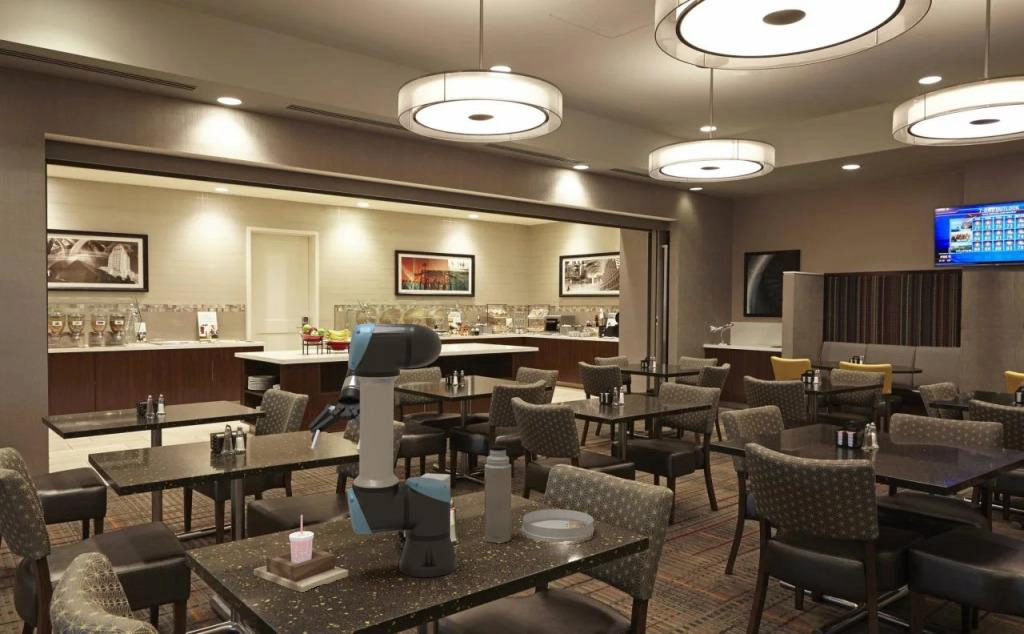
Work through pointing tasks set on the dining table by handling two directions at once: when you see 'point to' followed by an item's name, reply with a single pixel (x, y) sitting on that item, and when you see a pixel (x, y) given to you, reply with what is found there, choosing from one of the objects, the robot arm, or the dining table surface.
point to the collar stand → (301, 570)
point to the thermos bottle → (497, 495)
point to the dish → (556, 525)
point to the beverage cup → (301, 545)
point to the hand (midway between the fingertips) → (336, 451)
